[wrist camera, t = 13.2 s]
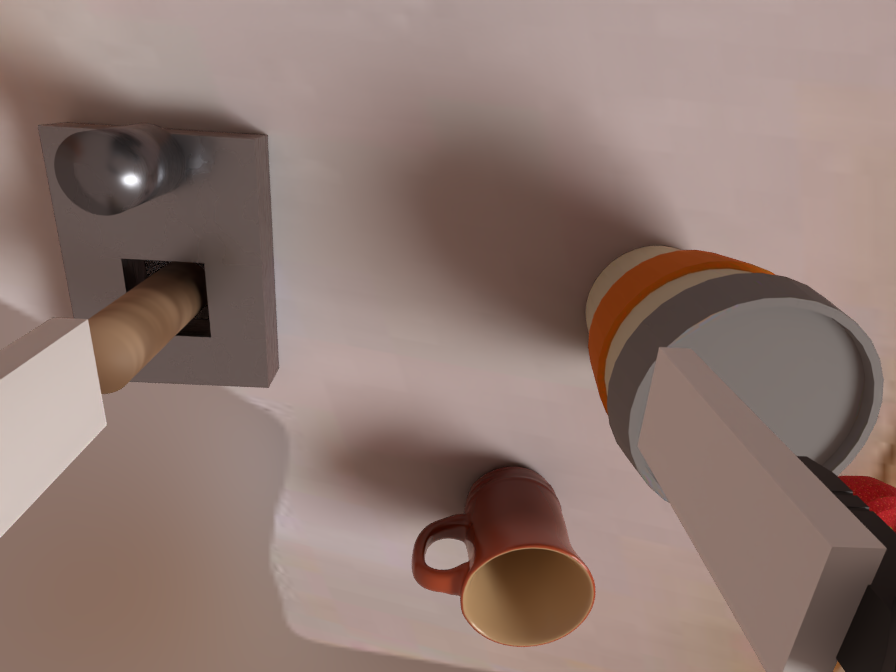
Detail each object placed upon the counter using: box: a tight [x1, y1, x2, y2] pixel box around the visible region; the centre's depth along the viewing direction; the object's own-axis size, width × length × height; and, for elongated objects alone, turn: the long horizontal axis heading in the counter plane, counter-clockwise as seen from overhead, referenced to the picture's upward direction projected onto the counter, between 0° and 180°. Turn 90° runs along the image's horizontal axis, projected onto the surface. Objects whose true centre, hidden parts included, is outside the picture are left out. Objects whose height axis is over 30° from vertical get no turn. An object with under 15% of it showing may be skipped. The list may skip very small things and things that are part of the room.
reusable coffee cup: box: [585, 246, 884, 503], centre depth 35 cm, size 13×13×15 cm
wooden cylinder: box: [88, 261, 208, 394], centre depth 35 cm, size 4×4×12 cm
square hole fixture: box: [38, 122, 279, 388], centre depth 36 cm, size 16×12×9 cm
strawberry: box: [839, 476, 896, 533], centre depth 44 cm, size 6×8×10 cm
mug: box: [412, 467, 595, 647], centre depth 44 cm, size 12×9×10 cm
